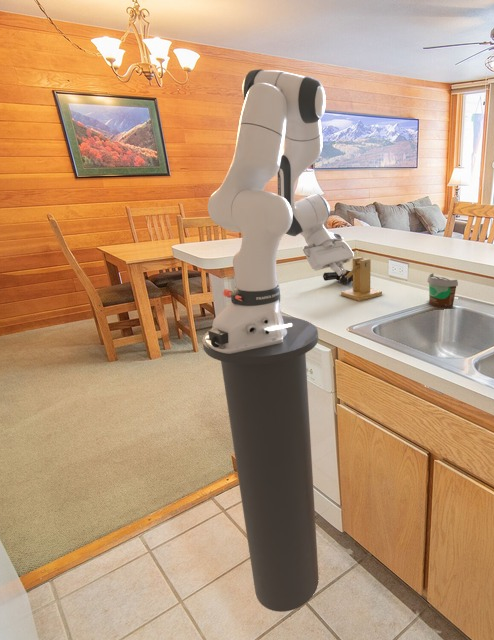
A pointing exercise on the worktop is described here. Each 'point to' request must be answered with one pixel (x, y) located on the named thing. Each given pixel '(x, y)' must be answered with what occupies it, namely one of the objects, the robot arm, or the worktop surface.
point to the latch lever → (349, 274)
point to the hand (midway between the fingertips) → (342, 274)
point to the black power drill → (336, 276)
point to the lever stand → (361, 282)
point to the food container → (441, 291)
